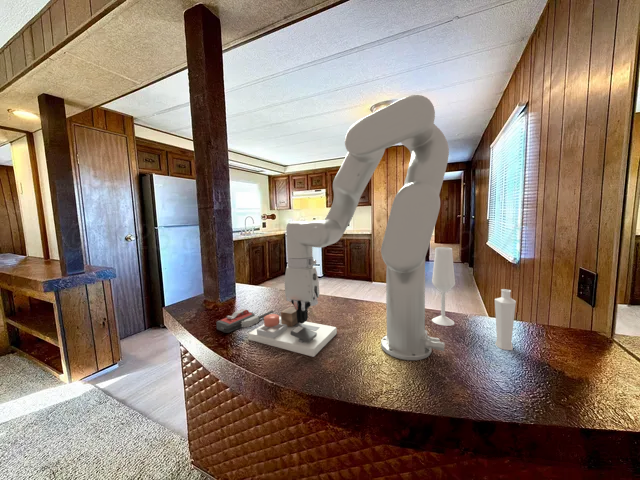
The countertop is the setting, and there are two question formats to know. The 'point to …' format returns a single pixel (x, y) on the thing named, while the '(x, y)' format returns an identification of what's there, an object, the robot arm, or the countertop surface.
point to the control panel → (284, 340)
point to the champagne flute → (443, 280)
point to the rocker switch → (303, 333)
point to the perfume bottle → (504, 319)
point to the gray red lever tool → (239, 320)
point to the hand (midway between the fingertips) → (302, 321)
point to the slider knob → (289, 316)
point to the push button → (271, 320)
